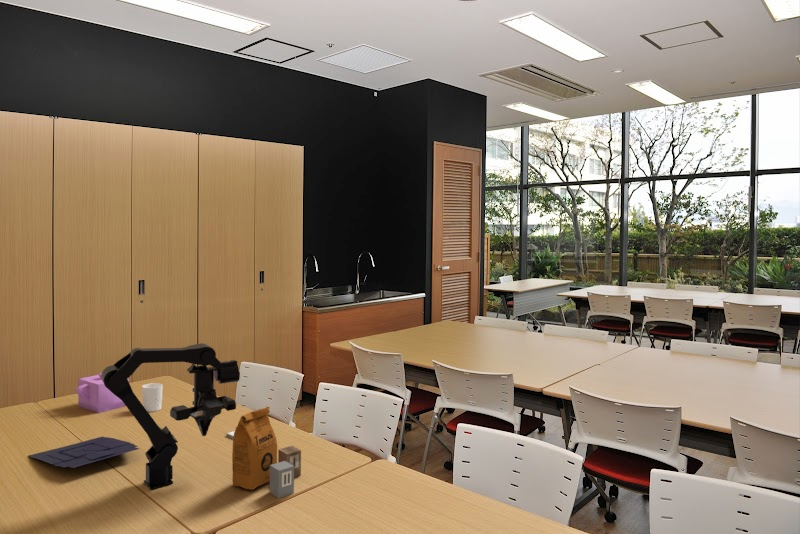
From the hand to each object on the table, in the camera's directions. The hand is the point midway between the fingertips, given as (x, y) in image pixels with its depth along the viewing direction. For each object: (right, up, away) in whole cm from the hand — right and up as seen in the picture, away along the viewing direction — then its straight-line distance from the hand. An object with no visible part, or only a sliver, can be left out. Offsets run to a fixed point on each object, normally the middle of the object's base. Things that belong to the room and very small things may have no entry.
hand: (203, 435), depth 179 cm
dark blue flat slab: (-42, -11, +11) cm, 45 cm away
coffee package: (+17, -13, -5) cm, 22 cm away
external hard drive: (+4, -11, +36) cm, 38 cm away
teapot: (-63, -7, +66) cm, 92 cm away
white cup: (-42, -7, +62) cm, 76 cm away
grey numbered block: (+26, -13, -11) cm, 31 cm away
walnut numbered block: (+26, -13, +1) cm, 29 cm away
